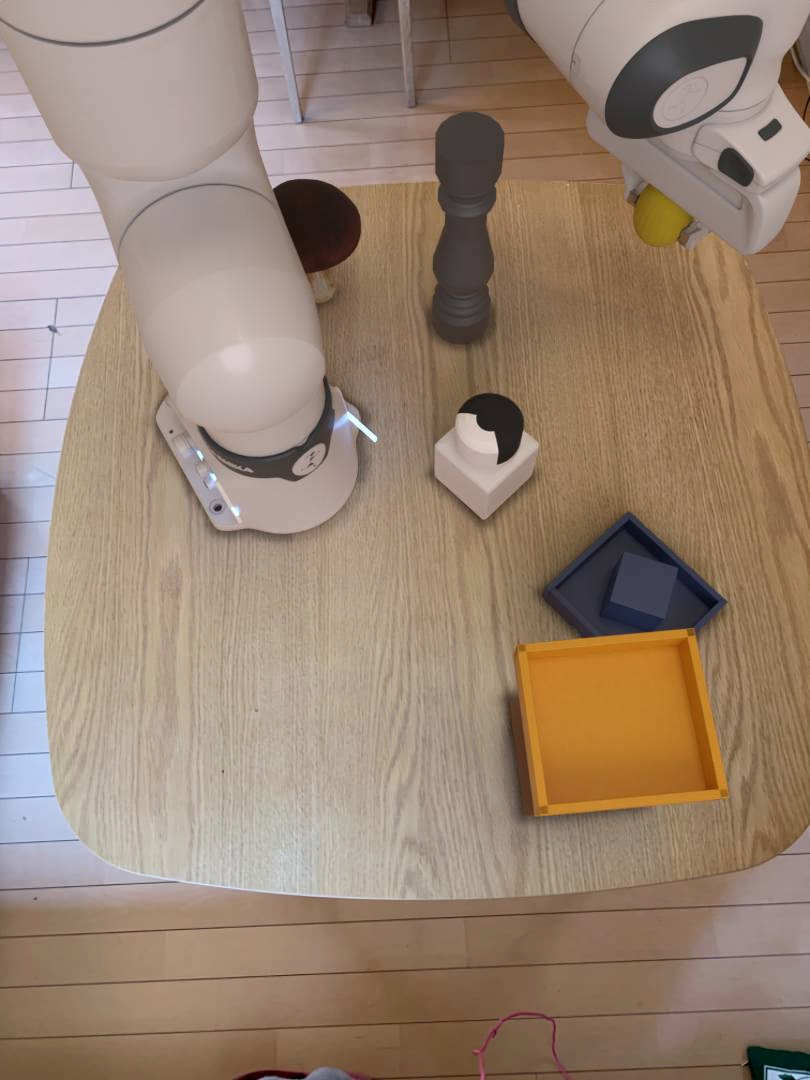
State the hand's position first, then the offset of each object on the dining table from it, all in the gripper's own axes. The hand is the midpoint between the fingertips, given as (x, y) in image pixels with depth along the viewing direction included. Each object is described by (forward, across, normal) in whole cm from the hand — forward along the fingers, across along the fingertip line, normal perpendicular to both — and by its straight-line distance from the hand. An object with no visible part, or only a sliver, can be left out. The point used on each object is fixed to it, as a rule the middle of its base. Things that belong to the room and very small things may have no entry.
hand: (661, 221), depth 81 cm
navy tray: (+12, +23, -25) cm, 36 cm away
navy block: (+12, +23, -25) cm, 36 cm away
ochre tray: (+13, +29, -39) cm, 51 cm away
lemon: (+3, 0, 0) cm, 3 cm away
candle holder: (+13, -11, -15) cm, 23 cm away
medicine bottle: (+13, +4, -26) cm, 30 cm away
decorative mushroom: (+13, -24, -24) cm, 36 cm away
